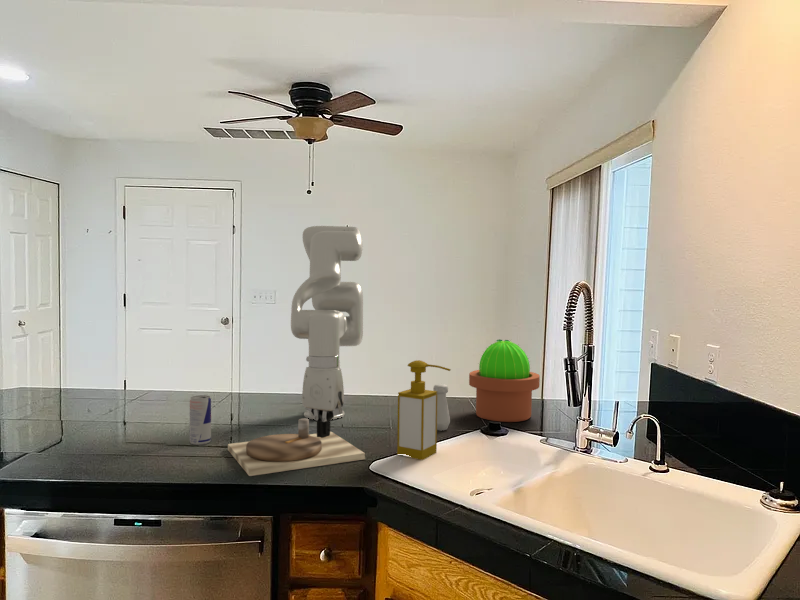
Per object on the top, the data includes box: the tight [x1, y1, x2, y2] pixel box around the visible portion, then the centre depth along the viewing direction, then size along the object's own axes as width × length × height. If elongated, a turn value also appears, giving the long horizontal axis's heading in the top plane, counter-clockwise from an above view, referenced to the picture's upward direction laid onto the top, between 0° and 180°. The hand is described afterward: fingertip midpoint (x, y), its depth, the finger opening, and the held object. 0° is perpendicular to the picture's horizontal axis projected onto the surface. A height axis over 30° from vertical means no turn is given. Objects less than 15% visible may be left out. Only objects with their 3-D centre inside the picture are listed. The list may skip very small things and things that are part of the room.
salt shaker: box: [432, 383, 451, 431], centre depth 174 cm, size 6×6×13 cm
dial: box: [246, 417, 322, 461], centre depth 145 cm, size 18×18×6 cm
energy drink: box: [189, 394, 212, 446], centre depth 157 cm, size 5×5×12 cm
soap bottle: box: [396, 359, 452, 461], centre depth 148 cm, size 7×13×24 cm, turn 58°
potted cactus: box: [468, 339, 541, 423], centre depth 191 cm, size 22×22×25 cm
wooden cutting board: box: [227, 431, 366, 477], centre depth 148 cm, size 22×28×2 cm
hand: (323, 436), depth 148 cm, fingers closed
